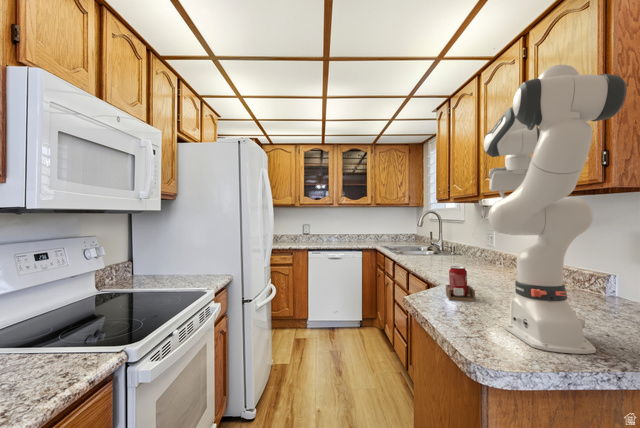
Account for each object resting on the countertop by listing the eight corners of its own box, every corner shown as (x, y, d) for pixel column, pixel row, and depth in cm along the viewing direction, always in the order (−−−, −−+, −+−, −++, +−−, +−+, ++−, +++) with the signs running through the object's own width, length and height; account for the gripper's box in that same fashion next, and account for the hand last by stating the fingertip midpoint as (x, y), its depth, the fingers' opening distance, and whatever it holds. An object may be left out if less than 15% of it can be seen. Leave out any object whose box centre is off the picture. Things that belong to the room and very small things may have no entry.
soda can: (465, 298, 125) (464, 268, 125) (447, 296, 129) (447, 267, 129) (469, 295, 130) (468, 266, 131) (451, 293, 135) (451, 265, 135)
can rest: (475, 301, 124) (474, 290, 124) (449, 300, 126) (448, 289, 126) (469, 295, 133) (469, 285, 133) (445, 294, 136) (445, 284, 136)
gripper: (491, 166, 121) (491, 202, 121) (551, 163, 116) (552, 200, 116) (486, 169, 127) (487, 203, 127) (544, 166, 122) (545, 201, 122)
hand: (519, 202), depth 121 cm, fingers open, 8 cm apart
